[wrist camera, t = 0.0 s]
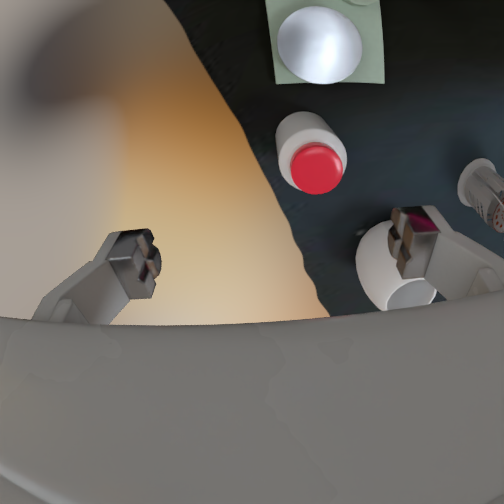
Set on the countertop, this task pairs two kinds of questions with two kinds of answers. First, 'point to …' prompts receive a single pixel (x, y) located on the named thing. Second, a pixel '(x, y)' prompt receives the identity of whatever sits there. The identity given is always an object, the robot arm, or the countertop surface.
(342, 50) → the scale top
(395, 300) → the white round vase
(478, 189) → the french press
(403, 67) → the countertop surface
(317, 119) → the pill bottle
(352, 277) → the countertop surface
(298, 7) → the scale
